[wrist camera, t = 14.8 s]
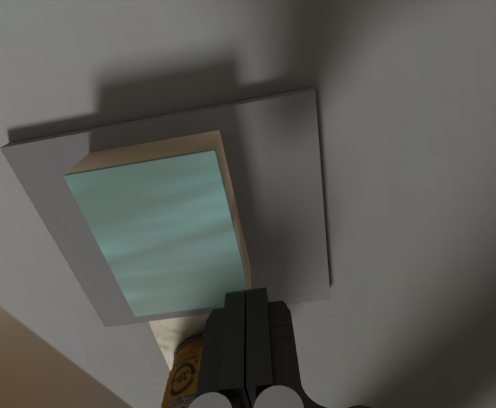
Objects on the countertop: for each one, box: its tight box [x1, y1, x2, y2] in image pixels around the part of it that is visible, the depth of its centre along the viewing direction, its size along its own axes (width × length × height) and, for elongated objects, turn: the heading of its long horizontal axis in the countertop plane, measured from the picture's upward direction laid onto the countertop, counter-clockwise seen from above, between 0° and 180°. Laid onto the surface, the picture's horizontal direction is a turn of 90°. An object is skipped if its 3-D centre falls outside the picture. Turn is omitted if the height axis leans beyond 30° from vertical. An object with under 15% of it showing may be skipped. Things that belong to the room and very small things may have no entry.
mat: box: [0, 88, 330, 327], centre depth 17 cm, size 12×14×1 cm
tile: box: [64, 130, 251, 317], centre depth 16 cm, size 2×6×8 cm
